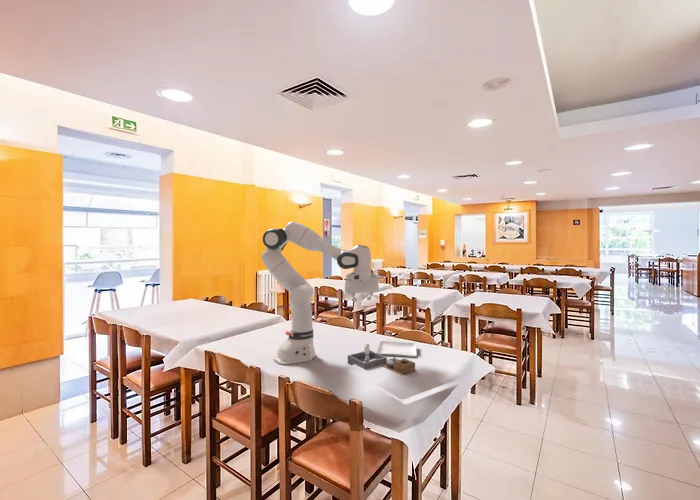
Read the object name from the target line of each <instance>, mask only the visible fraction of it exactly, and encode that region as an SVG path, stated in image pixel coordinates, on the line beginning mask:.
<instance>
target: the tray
mask: <svg viewBox="0 0 700 500" xmlns="http://www.w3.org/2000/svg"><path fill="white" fill-rule="evenodd" d="M387 360H388V358H387V356H382V355H380V354H377V353H376V352H375V351H373V350H370V349H369V362H365V350H364V351H361V352H357V353H351V354H348V355H347V364H349V365H350V366H353V365H356V366H358V367H360V368H362V369H364V370H365V369H370V368H372V367H373V368H374V367H377V366H380V365H385V364H386V362H387Z"/></svg>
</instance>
